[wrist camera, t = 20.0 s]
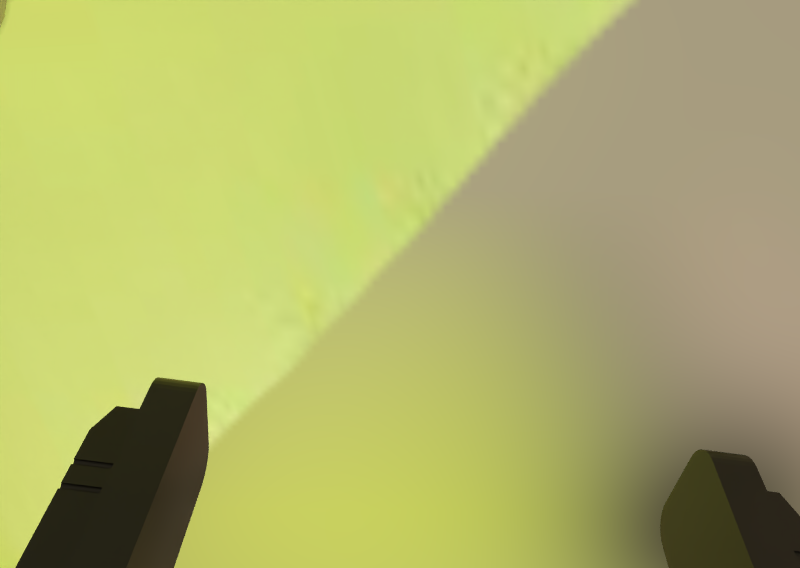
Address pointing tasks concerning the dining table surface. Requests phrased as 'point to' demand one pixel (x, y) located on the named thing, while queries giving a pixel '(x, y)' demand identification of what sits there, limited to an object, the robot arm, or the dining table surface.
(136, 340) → the dining table surface
